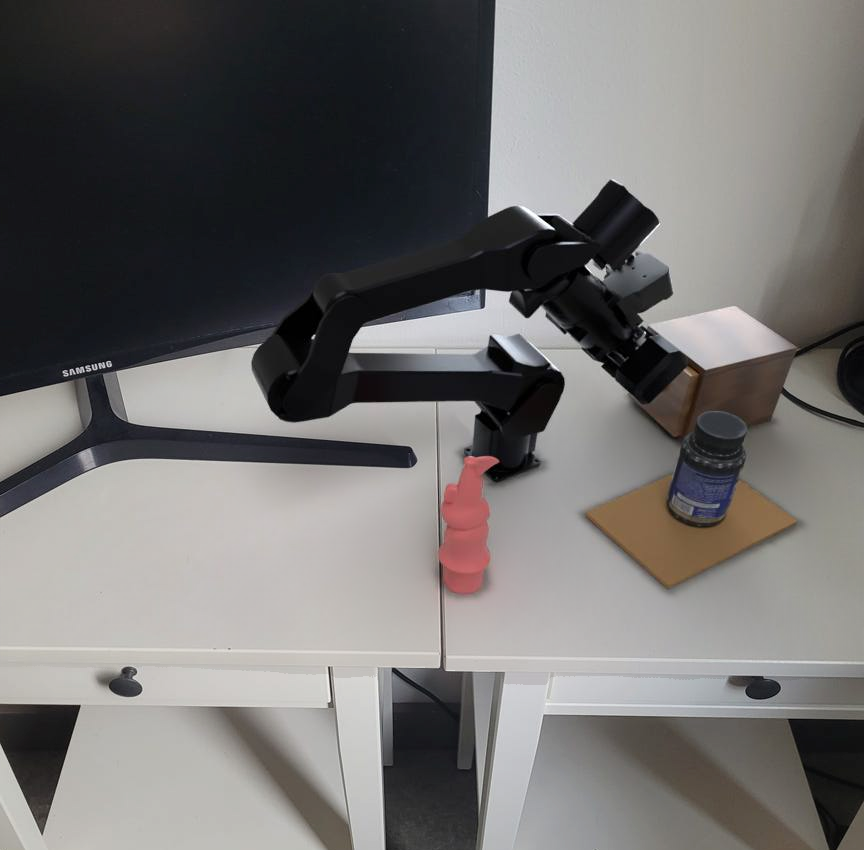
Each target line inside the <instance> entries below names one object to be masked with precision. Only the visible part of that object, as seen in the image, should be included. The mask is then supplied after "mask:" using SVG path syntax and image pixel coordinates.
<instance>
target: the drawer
mask: <svg viewBox="0 0 864 850" xmlns="http://www.w3.org/2000/svg"><path fill="white" fill-rule="evenodd" d="M698 379H699V372H698V371H697V370H695V369H694V368H693V367H692V366H690V365H689V364H688V365H687V367H686V368H685V369H684V370H683V371H682V372H681V373H680V374H679V375H678V376H677V377H676V378H675V379H674V380H673V381H672V382H671V383H670V384H669V385H668V386H667V387H666V388H665V389H664V390H663V391H662V392H661V393H660V394H659V395H658V396H657V397H656V398H655V399H654V400H653V401H652V402H651V403H650V404H644V405H642V404H641V403H639V402H638V401H637V400H636V399H635V398H634V397H633V396H632V395H631V394H630V393H628V392H627V396H629V398H631V400H633V401H634V402H635V403H636V404H637V405H638V406H639V407H640V408H641V409H642V410H643V411H645V412H646V413H647V414H648V415H649V416H650V417H651V418H652V419H653V420H654V421H656V422H657V423H658V424H659V425H660V426H661V427H662V428H664V429H665V431H666V432H668V433H669V434H670V435H671V436H672V437H673V438H675V437H676V436H680V435H682V434H683V431H684V428H685V424H686V421H687V417H688V414H689V410H690V407H691V403H692V400H693V396H694V393H695V389H696V386H697V382H698ZM676 438H677V437H676Z"/></svg>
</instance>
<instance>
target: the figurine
mask: <svg viewBox="0 0 864 850" xmlns="http://www.w3.org/2000/svg"><path fill="white" fill-rule="evenodd" d="M462 462H463V467H462V470H461V473H460V475H459V479H458V482H457V483H453V482H451V483H448V484H447V485H446V486H445V489H444V493H443V500H442V502H441V503H440V504H441V505H440V515H441V518H442V520H443V521H444V523H445V524H446V525H445V528H444V534H443V541H442V543H441V544H440V546H439V548H438V550H437V556H438V560H439V562H440V564H441V565H442V582H443V584H444V586H445V587H446V588H447V589H448V590H449V591H451V592H453V593H456V594H459V595H460V594H461V595H468V594H472V593H475V592H476V591H478V590H479V589H481V587H482V585H483V582H484V574H485V569H486V568H487V567H488V565H490V562H491V551H490V548H489V547H488V545H487V542H488V537H489V533H490V526H489V522H488V521H489V518H490V515H491V508H490V505H489V503H488V501H487V500H486V498H485V497H484V496H483V490H484V485H485V483H484V477H483V476H482V475H483V474H485V473H484V472H485V471H486V470H488V469H489V468H490V467H492V466H493V465H495V464H497V463H499V460H498V459H496V458H494V457H491V456H482V457H477V458H475V457H473V456H465V457H464V458H463V461H462Z"/></svg>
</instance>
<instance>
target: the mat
mask: <svg viewBox="0 0 864 850" xmlns="http://www.w3.org/2000/svg"><path fill="white" fill-rule="evenodd" d="M672 477H673V473H672V474H670V475H668V476H665V477H662V478H661V479H658V480H656V481H653V482H651V483H649V484H647V485H644V486H642V487H640V488H637V489H635V490H633V491H631V492H628V493H626V494H624V495H622V496H621V495H620V496H619V497H616V498H614V499H612V500H610V501H607V502H605V503H603V504H601V505H599V506H596V507H594V508H592V509H589V510H587V511H585V513H584V516H585V517H586V518H587V519H589V520H590V522H591V523H592V524H594V525H595V526H596V527H597V528H599V529H600V530H601V531H602V532H603V533H604V534H605V535H606V536H608V538H610V540H612V541H613V542H614V543H616V544H617V545H618V546H619V547H620V548H621V549H622V550H623V551H624V552H626V553H627V554H628V555H629V556H630V557H631V558H632V559H634V561H636V563H638V564H639V565H640V566H641V567H642V568H643V569H644V570H646V571H647V572H648V573H649V574H650V575H651V576H652V577H654V579H656V580H657V581H658V582H659V583H660V584H662V586H664V587H665V588H666V589H668V590H669V589H671V588H673V587H675V586H677V585H679V584H681V583H683V582H685V581H687V580H689V579H691V578H693V577H695V576H697V575H699V574H701V573H702V572H704V571H706V570H708V569H710V568H713V567H714V566H717V565H718V564H720V563H723V562H724V561H726V560H729V559H730V558H733V557H734V556H737V555H738V554H740V553H742V552H744V551H747V550H748V549H751V548H753V547H754V546H756V545H758V544H760V543H762V542H764V541H766V540H768V539H770V538H772V537H774V536H775V535H778V534H780V533H782V532H784V531H785V530H788V529H789V528H792V527H793V526H795V525H797V523H798V520H797V518H794V517H793V516H792V515H791V514H789V513H787V512H786V511H785V510H783V509H782V508H781V507H779V506H777V505H776V504H775V503H774V502H772V501H770V500H769V499H767V498H766V497H765V496H763V495H762V494H761V493H759V492H757V491H756V490H755V489H753V488H752V487H751V486H750V485H748V484H746V483H745V482H744V481H743V480H740V479H739V480H738V483H737V486H736V489H735V492H734V495H733V498H732V500H731V503H730V506H729V509H728V512H727V516H726V517H725V519H724V520H723V521H722V522H721V523H720V524H717V525H715V526H712V527H695V526H691V525H688V524H685V523H684V522H681V521H679V520H678V519H677V518H676V517H674V516H673V515H672V514H671V512H670V511H669V509H668V507H667V504H666V498H667V494H668V491H669V487H670V484H671V480H672Z"/></svg>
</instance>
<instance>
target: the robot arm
mask: <svg viewBox="0 0 864 850" xmlns="http://www.w3.org/2000/svg"><path fill="white" fill-rule="evenodd" d="M660 225H661V222H660V219H659V217H658V216H657V215H656V213H655V212H654V211H653V210H652V209H651V208H649V207H647V206H645V205H644V204H643V203H642V202H641V201H640V200H639V199H638V198H637V197H636V196H634V195H633V194H632V193H631V192H630V191H629V190H628V189H627V187H626V186H625V185H623V184H622V183H621V182H618V181H617V180H615V179H613V178H611V179H609V180H608V181H607V182H606V183H605V184H604V185H603V186H602V188H600V191H599V192H598V194H597V195H596V196H595V198H594V199H593V200H592V201H591V202H590V203H589V204H588V205H587V207H585V209H584V210H583V211H582V212H581V213H580V214H579V215H578V216H577V218H575V220H574V221H573V222H572V223H571V222H570V221H569V220H567V219H566V218H564V217H563V216H561V215H560V214H559V213H533V212H532V211H531V210H530V209H528V208H526V207H525V206H522V205H512V206H508V207H506V208H504V209H502V210H499V211H497V212H496V213H494V214H491V215H489V216H486V217H485V218H482V219H481V220H478V221H477V222H476V223H475V224H474V225H473V226H472V227H471V228H470V229H469V230H468V231H467V232H466V233H465V234H464V235H462V236H460V237H457V238H456V239H454V240H452V241H447V242H445V243H441V244H438V245H433V246H431V247H427V248H424V249H421V250H417V251H414V252H411V253H406V254H404V255H400V256H396V257H393V258H390V259H386V260H384V261H379V262H376V263H372V264H370V265H367V266H363V267H359V268H355V269H352V270H349V271H345V272H342V273H337V272H332V273H331V272H330V273H326V274H325V275H323V276H321V277H320V278H319V279H318V280H317V281H316V282H315V284H314V286H313V287H312V288H311V290H310V291H309V293H308V294H307V296H306V297H305V298H304V299H303V300H302V301H301V302H300V303H298V304H297V305H296V306H294V307H293V308H292V309H291V310H290V311H288V312H287V313H286V314H285V315H283V317H282V318H281V319H280V321H279V322H278V324H277V325H276V327H275V328H274V330H273V331H272V333H271V334H270V336H268V337H267V338H266V340H264V341H263V342H262V343H261V344H260V345H259V346H258V347H257V348H256V350H255V351H254V353H253V355H252V358H251V361H250V362H251V364H250V365H251V373H252V374H253V376H254V379H255V381H256V382H257V385H258V387H259V389H260V391H261V393H262V395H263V397H264V399H265V402H266V403H267V405H268V407H269V409H270V412H272V413H273V414H274V415H275V416H276V417H277V418H278V420H280V421H283V422H285V423H291V424H296V423H304V422H310V421H314V420H318V419H319V420H321V419H325V418H326V419H327V418H330V417H332V416H333V415H335V414H336V413H339V412H341V411H342V410H343V409H345V408H346V407H348V406H351V404H367V403H368V404H371V403H372V404H375V403H377V404H379V403H382V404H383V403H437V402H438V403H443V402H445V403H448V402H449V403H451V402H474V404H476V406H477V407H478V408H479V409H480V412H479V413H478V414H475V415H474V424H473V434H472V435H473V437H472V445H469V446H466V447H464V449H463V454H464V455H465V457H467V456H473V457H475V458H477V457H482V456H491V457H494V458H496V459H498V460H499V463H497V464H495V465H493V466H492V467H490V468H489V469H488V470H486V471H485V472H484V473H483V474H485V475H486V477H487V478H489V479H490V480H491V481H492V482H493V483H500V482H503V481H505V480H507V479H509V478H513V477H515V476H518V475H520V474H522V473H525V472H527V471H530V470H533V469H535V468H539V467H540V466H541V463H542V460H541V459H540V458H539V457H538V456H537V455H536V454H535V453H534V452H535V450H536V445H537V440H538V439H537V437H538V434H539V433H543V432H545V430H546V428H547V426H548V424H549V422H550V420H551V418H552V416H553V414H554V412H555V410H556V408H557V406H558V404H559V403H560V400H561V398H562V396H563V394H564V390H565V387H566V384H565V383H566V382H565V381H566V379H565V376H564V375H563V373H562V371H561V370H559V369H558V368H557V366H555V365H554V363H552V362H551V361H550V360H549V358H547V357H546V356H545V355H544V354H543V352H541V351H540V350H539V349H538V348H537V347H536V346H535V345H534V344H533V343H532V342H531V341H529V340H527V339H526V338H525V337H524V336H523V335H522V333H516V334H513V335H500V334H496V333H495V334H494V333H493V334H490V335H489V337H488V343H487V346H486V347H484V348H483V349H480V350H479V351H478V352H475V353H471V354H470V353H469V354H468V353H403V352H402V353H401V352H400V353H397V352H396V353H395V352H393V353H392V352H391V353H390V352H350V349H351V346H352V343H353V341H354V338H355V337H356V335H357V334H358V333H359V331H360V330H361V328H362V327H363V326H364V325H365V324H369V323H372V322H375V321H378V320H382V319H385V318H388V317H392V316H394V315H397V314H401V313H404V312H408V311H411V310H413V309H417V308H420V307H425V306H427V305H430V304H433V303H437V302H440V301H443V300H447V299H449V298H453V297H457V296H460V295H462V294H466V293H470V292H473V291H474V292H475V291H481V290H487V291H494V292H495V291H496V292H502V293H503V292H505V293H510V295H509V299H508V303H509V305H511V306H512V307H513V308H514V309H515V310H516V311H517V312H518V313H519V314H520V315H521V316H522V317H524V319H530V318H531V317H532V316H533V315H534V314H535V313H536V312H537V311H538V310H539V309H540V308H541V309H543V311H544V312H545V316H544V317H545V318H546V319H547V320H548V321H549V322H550V323H551V324H552V325H553V326H554V327H555V328H556V329H557V330H559V332H561V333H562V334H563V335H564V336H566V334H568V335H569V337H571V338H572V339H573V341H574V342H576V343H577V344H578V345H579V346H580V347H581V350H582V351H583V353H585V354H586V355H588V357H589V358H591V360H593V361H595V362H598V363H602V364H601V366H600V367H601V369H603V370H604V371H605V372H606V373H607V374H608V375H609V376H611V377H612V378H613V379H614V380H615V381H616V383H618V385H620V386H621V387H622V388H623V389H624V390H625V391H626V392H627V394H628V393H630V394H631V395H632V396H633V397H634V398H635V399H636V400H637V401H638V402H639V403H641V404H642V405H644V404H650V403H651V402H652V401H653V400H654V399H655V398H656V397H657V396H658V395H659V394H660V393H661V392H662V391H663V390H664V389H665V388H666V387H667V386H668V385H669V384H670V383H671V382H672V381H673V380H674V379H675V378H676V377H677V376H678V375H679V374H680V373H681V372H682V371H683V370H684V369H685V368H686V367H687V365H688V359H687V358H686V357H685V356H684V354H683V353H682V352H681V351H680V350H679V349H677V348H676V347H675V346H674V345H672V344H671V343H670V342H668V341H667V340H666V339H665V338H663V337H662V336H661V335H656V336H655V335H654V334H653V333H651V332H650V331H649V330H648V329H647V327H645V326H644V325H643V324H642V323H643V322H644V321H645V320H644V319H643V318H642V317H641V316H640V315H639V314H643V313H645V312H647V311H648V310H650V309H651V308H653V307H655V306H656V305H658V304H659V303H661V302H662V301H666V300H669V299H670V298H671V297H672V296H673V295H674V291H675V290H674V286H673V282H672V276H671V271H670V267H669V266H668V264H666V263H664V262H663V261H661V260H660V259H658V258H657V257H655V256H654V255H653V254H650V253H648V252H641V251H640V250H637V249H638V248H639V247H640V246H641V245H642V244H643V243H644V242H645V241H646V240H647V239H648V238H649V237H650V236H651V235H652V233H654V231H655V230H656V229H658V227H660ZM633 253H634V254H633ZM589 263H591V265H593V266H594V267H595V268H597V269H598V270H599V271H600V272H601V271H603V270H604V269H605V274H604V276H603V280H601V279H600V278H599V277H597V276H596V275H595V274H594V273H593V272H592V271H591V270H590V269H589V268H588V267H587V266H586V265H588V264H589Z"/></svg>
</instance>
